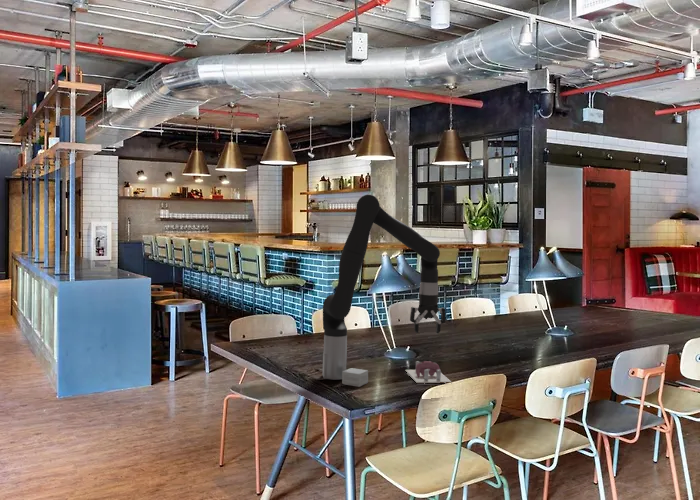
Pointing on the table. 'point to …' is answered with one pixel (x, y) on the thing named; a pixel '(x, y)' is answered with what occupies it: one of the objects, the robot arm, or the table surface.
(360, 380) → the small box
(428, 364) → the maroon arch piece
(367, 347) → the table surface
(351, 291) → the robot arm
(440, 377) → the pin tray
